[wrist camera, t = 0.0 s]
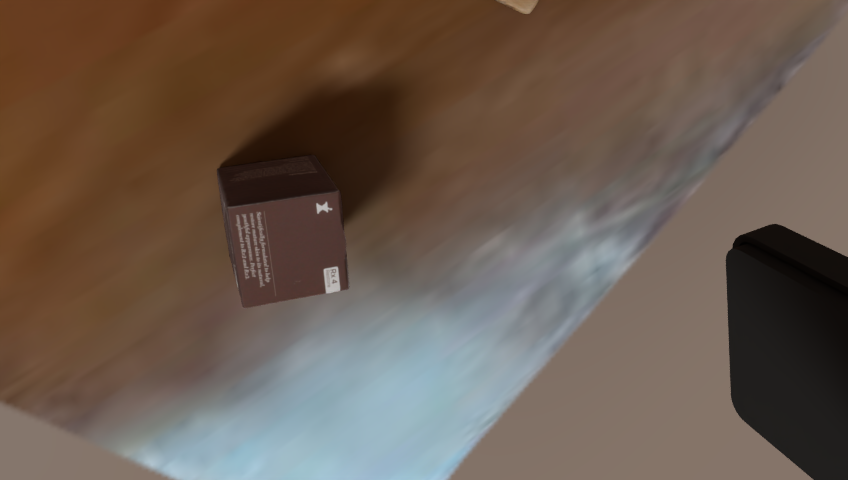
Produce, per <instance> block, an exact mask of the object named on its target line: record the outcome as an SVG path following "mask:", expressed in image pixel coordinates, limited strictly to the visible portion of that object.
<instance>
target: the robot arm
mask: <svg viewBox="0 0 848 480" xmlns="http://www.w3.org/2000/svg"><path fill="white" fill-rule="evenodd" d="M726 275H727V300H728V327H729V355H730V381H731V398H732V402H733V405H734V408H735V410H736V412H737V413H738V415H739V416H740V417H741V418H742V419H743V420H744V421H745V422H746V423H747V424H748V425H749V426H750V427H752V428H753V429H754V430H755V431H756V432H758V433H759V434H760V435H761V436H762V437H764V438H765V439H766V440H767V441H768V442H770V443H771V444H772V445H773V446H774V447H775V448H777V449H778V450H779V451H780V452H781V453H783V454H784V455H785V456H786V457H787V458H789V459H790V460H791V461H792V462H793V463H795V464H796V465H797V466H798V467H799V468H801V469H802V470H803V471H804V472H805V473H806V474H808V475H809V476H810V477H811V478H813V479H814V480H848V257H846V256H844V255H842V254H840V253H838V252H836V251H834V250H832V249H829V248H827V247H825V246H823V245H821V244H819V243H816V242H815V241H813V240H811V239H808V238H807V237H804V236H802V235H800V234H798V233H796V232H794V231H792V230H790V229H788V228H786V227H784V226H781V225H778V224H772V225H768V226H765V227H762V228H760V229H757V230H754V231H751V232H749V233H746V234H743V235H740V236H739V237H737V238H736V239H735V241H734V243H733V249H731V250H730V251H728V254H727V256H726Z"/></svg>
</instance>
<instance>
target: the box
mask: <svg viewBox="0 0 848 480" xmlns="http://www.w3.org/2000/svg"><path fill="white" fill-rule="evenodd" d="M217 176H218V184H219V191H220V199H221V205H222V213H223V217H224V224H225V230H226V237H227V242H228V249H229V256H230V259H231V263H232V267H233V271H234V274H235V278H236V282H237V286H238V289H239V293H240V297H241V302H242V306H243V308H250V307H256V306H261V305H266V304H272V303H277V302H282V301H287V300H293V299H298V298H303V297H309V296H315V295H320V294H326V293H332V292H337V291H342V290H347V289H349V287H350V286H349V275H348V265H347V254H346V237H345V233H344V223H343V211H342V200H341V193H340V191H339V190H338V189H337V187H336V185H335V184H334V182H333V181H332V179H331V178H330V177H329V175H328V174H327V172H326V170H325V169H324V168H323V166H322V165H321V164H320V162H319V161H318V159H317V158H316V156H315V155H308V156H300V157H293V158H286V159H280V160H272V161H265V162H257V163H251V164H243V165H237V166H230V167H223V168H218V169H217Z"/></svg>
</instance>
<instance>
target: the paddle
mask: <svg viewBox="0 0 848 480" xmlns="http://www.w3.org/2000/svg"><path fill="white" fill-rule="evenodd" d="M495 1H497V2H500V3H502V4H504V5H506V6H508V7H510V8H512V9H514V10H516V11H518V12H521V13H523V14H529V13H531V12H532V10H533V9H534V8H535V6H536V5H537V3H538V1H539V0H495Z"/></svg>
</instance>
